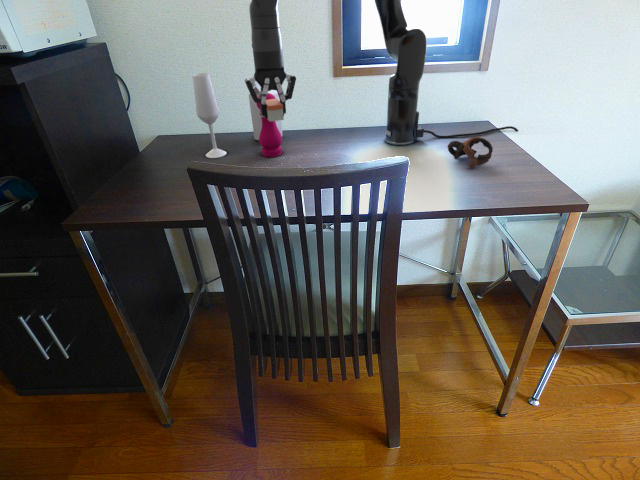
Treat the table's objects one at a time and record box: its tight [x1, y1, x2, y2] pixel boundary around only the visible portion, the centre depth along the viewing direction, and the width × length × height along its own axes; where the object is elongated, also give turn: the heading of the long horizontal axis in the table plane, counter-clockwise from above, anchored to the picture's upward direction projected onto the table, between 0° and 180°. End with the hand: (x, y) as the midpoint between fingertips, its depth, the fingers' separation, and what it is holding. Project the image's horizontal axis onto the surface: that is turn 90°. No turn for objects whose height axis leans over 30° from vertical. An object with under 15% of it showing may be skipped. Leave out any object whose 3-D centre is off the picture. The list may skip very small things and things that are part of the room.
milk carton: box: [248, 82, 283, 141], centre depth 130 cm, size 7×7×19 cm
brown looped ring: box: [447, 136, 494, 169], centre depth 109 cm, size 12×10×8 cm
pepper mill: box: [256, 93, 283, 158], centre depth 117 cm, size 7×7×20 cm
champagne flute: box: [191, 72, 228, 159], centre depth 118 cm, size 7×7×24 cm
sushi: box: [265, 99, 285, 122], centre depth 106 cm, size 4×7×4 cm, turn 18°
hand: (274, 116), depth 107 cm, fingers closed on sushi, 4 cm apart
